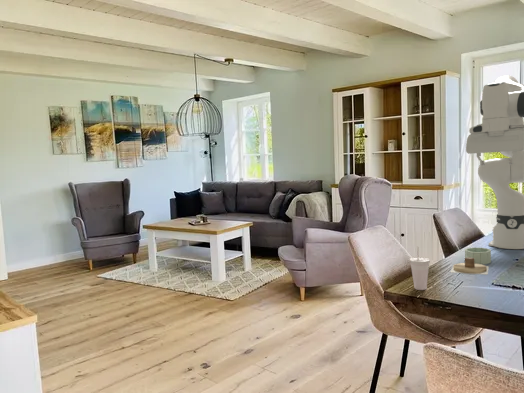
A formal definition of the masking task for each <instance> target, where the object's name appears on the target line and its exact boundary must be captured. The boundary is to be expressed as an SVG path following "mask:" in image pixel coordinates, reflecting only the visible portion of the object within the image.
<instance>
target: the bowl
mask: <svg viewBox="0 0 524 393" xmlns="http://www.w3.org/2000/svg"><path fill="white" fill-rule="evenodd" d="M468 257H470V258H474V263H477V264H482V265H487V264H488V265H489V264H491V262H492V250H491V249H490V248H487V247H477V246H476V247H468V248H467V247H466V248H465V249H464V259H465V258H468Z"/></svg>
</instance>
